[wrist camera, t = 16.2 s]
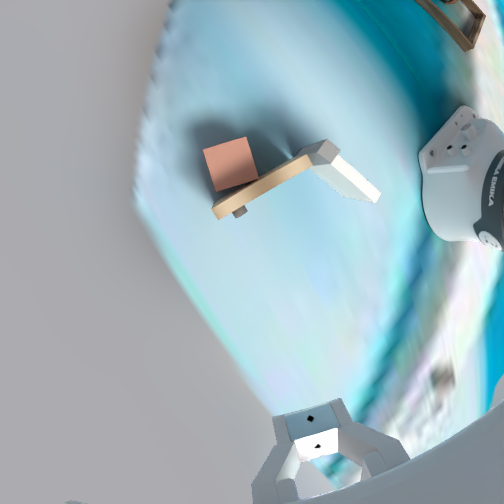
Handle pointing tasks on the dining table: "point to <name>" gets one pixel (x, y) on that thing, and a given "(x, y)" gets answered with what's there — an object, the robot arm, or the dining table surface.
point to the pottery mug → (451, 1)
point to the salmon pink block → (230, 164)
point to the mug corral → (451, 28)
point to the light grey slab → (338, 172)
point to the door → (259, 187)
